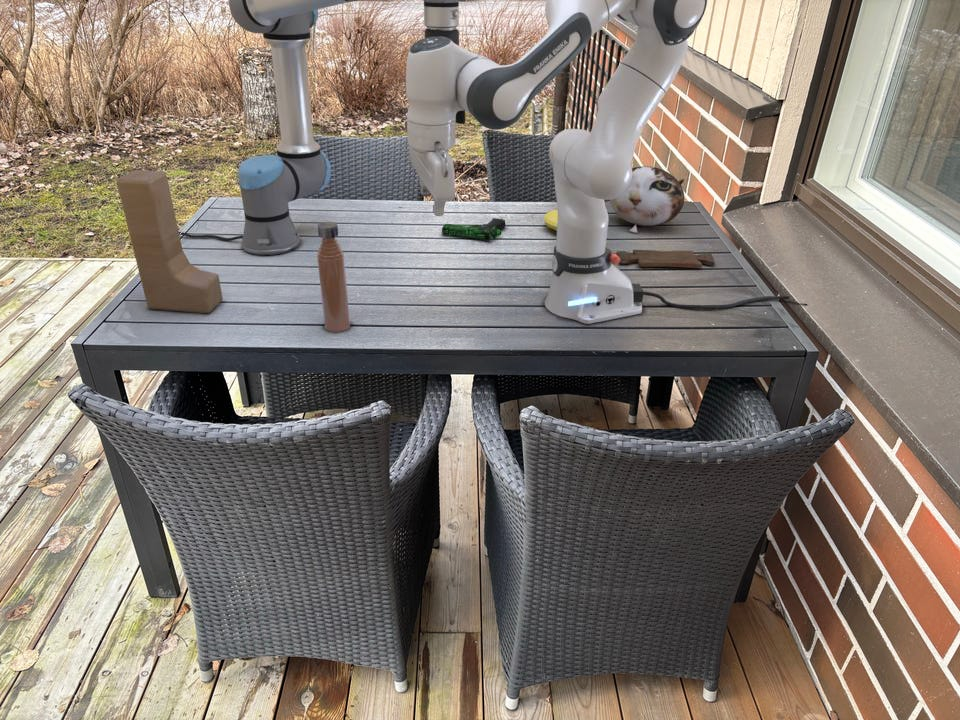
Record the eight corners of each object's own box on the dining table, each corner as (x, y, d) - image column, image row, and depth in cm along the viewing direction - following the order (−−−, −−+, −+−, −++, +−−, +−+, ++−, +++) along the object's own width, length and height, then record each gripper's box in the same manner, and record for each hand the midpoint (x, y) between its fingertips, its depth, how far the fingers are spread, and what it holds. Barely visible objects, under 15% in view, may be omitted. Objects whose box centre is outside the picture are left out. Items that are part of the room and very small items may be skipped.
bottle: (344, 318, 160) (335, 220, 149) (354, 328, 156) (345, 228, 145) (321, 324, 158) (310, 224, 146) (330, 334, 154) (319, 233, 142)
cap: (333, 230, 149) (332, 220, 148) (341, 236, 146) (340, 226, 145) (315, 234, 147) (314, 223, 146) (323, 240, 144) (321, 229, 143)
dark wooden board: (718, 270, 186) (709, 256, 195) (719, 264, 186) (710, 250, 194) (619, 267, 187) (614, 252, 195) (620, 261, 186) (615, 247, 194)
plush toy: (590, 213, 207) (612, 150, 209) (606, 237, 223) (627, 178, 224) (664, 227, 196) (687, 160, 198) (675, 250, 212) (697, 189, 214)
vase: (559, 216, 220) (561, 193, 217) (605, 227, 212) (608, 204, 209) (532, 230, 209) (533, 207, 206) (580, 242, 201) (582, 218, 198)
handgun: (511, 219, 210) (493, 234, 198) (511, 228, 211) (492, 244, 199) (461, 212, 215) (440, 226, 203) (461, 221, 217) (440, 236, 204)
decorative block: (209, 314, 161) (183, 183, 145) (146, 309, 162) (114, 179, 147) (224, 300, 167) (200, 172, 152) (163, 295, 169) (134, 168, 153)
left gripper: (420, 34, 144) (423, 141, 155) (487, 24, 162) (485, 121, 173) (391, 31, 147) (396, 136, 158) (460, 22, 165) (460, 116, 176)
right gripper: (464, 152, 124) (462, 225, 132) (433, 116, 139) (434, 183, 147) (428, 154, 122) (429, 229, 130) (402, 118, 138) (404, 186, 146)
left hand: (442, 128), depth 166 cm, fingers open, 13 cm apart
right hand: (432, 204), depth 139 cm, fingers open, 8 cm apart
